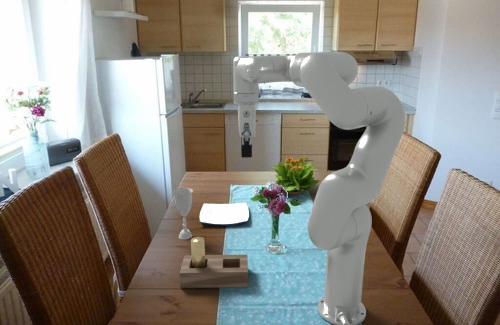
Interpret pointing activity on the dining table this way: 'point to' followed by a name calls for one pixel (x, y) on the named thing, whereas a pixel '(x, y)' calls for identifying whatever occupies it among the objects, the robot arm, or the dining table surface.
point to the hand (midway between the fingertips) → (246, 152)
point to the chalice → (183, 208)
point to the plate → (224, 214)
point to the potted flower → (295, 175)
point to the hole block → (215, 272)
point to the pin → (198, 252)
